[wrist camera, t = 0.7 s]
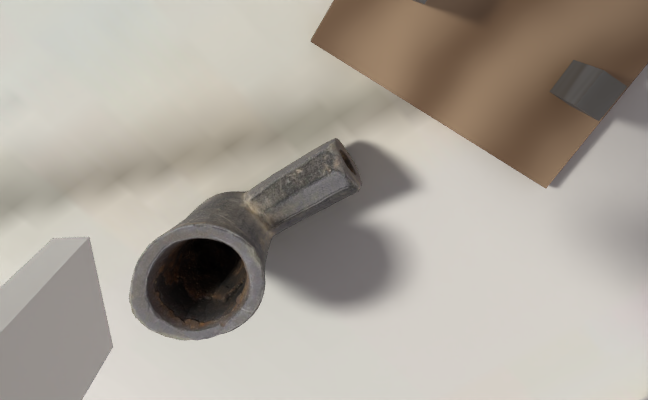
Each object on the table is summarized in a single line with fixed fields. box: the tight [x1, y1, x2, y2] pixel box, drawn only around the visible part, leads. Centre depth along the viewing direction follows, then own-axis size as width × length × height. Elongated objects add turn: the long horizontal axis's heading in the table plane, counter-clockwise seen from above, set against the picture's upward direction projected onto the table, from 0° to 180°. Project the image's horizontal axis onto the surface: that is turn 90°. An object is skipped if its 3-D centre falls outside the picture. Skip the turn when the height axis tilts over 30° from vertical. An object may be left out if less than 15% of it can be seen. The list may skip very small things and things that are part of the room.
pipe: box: [129, 138, 362, 340], centre depth 30 cm, size 6×13×8 cm, turn 123°
